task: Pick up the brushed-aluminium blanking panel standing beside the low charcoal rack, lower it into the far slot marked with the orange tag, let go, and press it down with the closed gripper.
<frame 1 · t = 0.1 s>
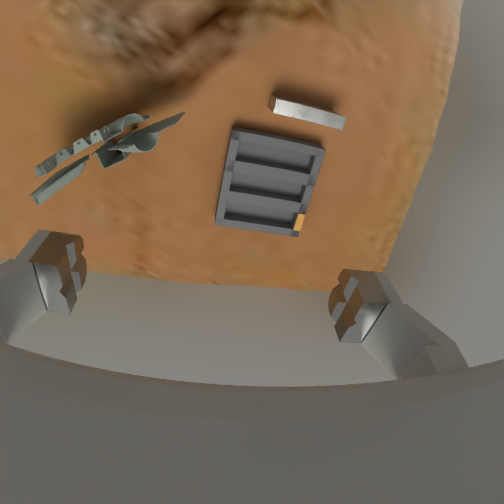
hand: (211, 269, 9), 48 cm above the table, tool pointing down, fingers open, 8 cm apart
bracket: (121, 134, 50), on the table
panel: (301, 108, 50), on the table
rack: (266, 180, 58), on the table
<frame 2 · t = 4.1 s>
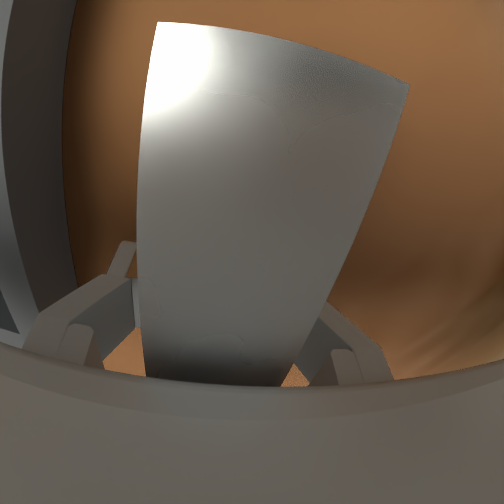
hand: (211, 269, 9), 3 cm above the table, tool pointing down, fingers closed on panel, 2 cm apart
panel: (214, 224, 11), on the table, touching gripper
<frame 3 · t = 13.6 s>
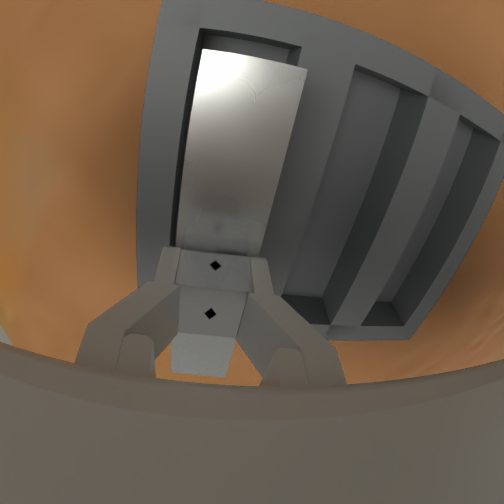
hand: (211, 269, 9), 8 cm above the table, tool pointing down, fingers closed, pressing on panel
panel: (219, 180, 15), point 1 cm above the table, touching gripper, rack
rack: (325, 191, 17), on the table
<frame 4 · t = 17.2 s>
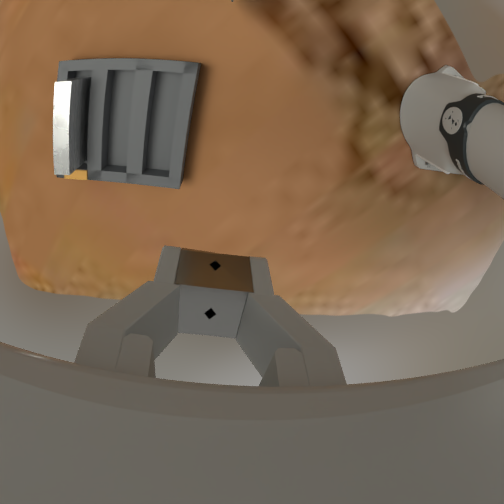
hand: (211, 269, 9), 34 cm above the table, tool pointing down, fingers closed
panel: (84, 117, 34), point 1 cm above the table, touching rack
rack: (124, 117, 36), on the table
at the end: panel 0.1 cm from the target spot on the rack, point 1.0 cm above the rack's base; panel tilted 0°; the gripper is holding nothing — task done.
